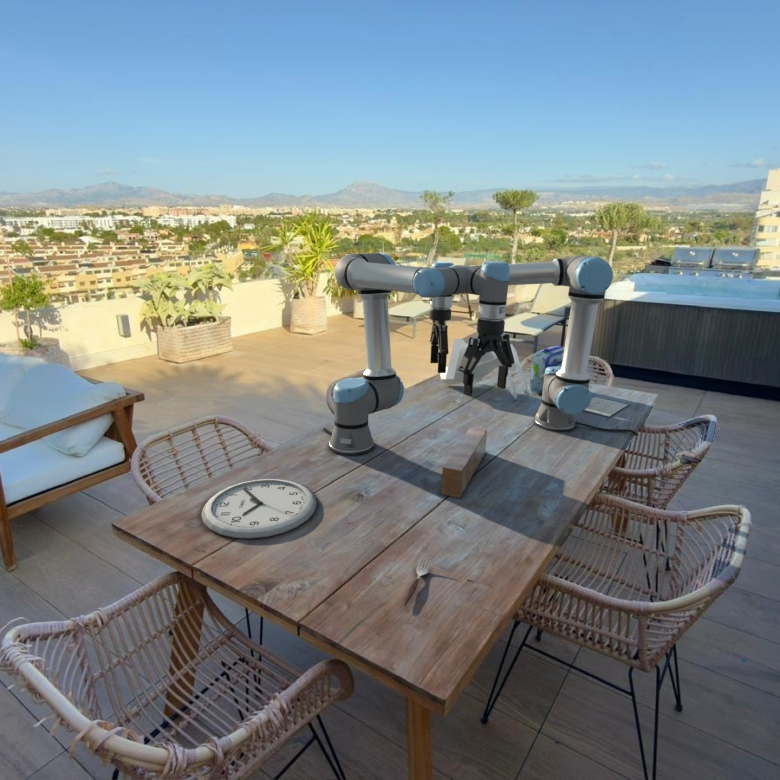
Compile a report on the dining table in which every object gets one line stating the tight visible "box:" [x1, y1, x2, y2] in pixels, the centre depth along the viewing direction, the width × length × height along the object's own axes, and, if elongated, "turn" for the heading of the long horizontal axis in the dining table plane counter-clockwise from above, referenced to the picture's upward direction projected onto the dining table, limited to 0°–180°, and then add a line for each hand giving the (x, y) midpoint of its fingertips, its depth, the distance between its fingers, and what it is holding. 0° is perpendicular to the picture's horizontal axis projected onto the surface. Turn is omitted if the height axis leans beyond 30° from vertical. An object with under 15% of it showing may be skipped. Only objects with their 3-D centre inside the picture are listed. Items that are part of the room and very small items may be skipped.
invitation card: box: [583, 396, 629, 418], centre depth 226 cm, size 21×1×15 cm
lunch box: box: [529, 345, 565, 394], centre depth 244 cm, size 26×11×21 cm, turn 135°
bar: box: [440, 426, 488, 499], centre depth 163 cm, size 34×6×8 cm, turn 158°
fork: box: [403, 554, 432, 607], centre depth 111 cm, size 3×16×2 cm, turn 160°
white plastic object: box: [439, 338, 531, 400], centre depth 245 cm, size 37×45×31 cm
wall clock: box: [201, 478, 317, 539], centre depth 141 cm, size 30×2×30 cm
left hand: (484, 391), depth 152 cm, fingers open, 13 cm apart
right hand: (437, 367), depth 186 cm, fingers open, 13 cm apart
